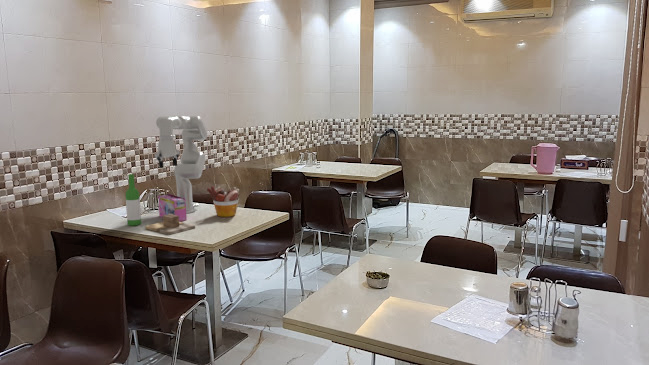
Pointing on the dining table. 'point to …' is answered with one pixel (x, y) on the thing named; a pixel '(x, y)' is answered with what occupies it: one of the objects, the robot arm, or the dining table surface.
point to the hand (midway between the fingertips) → (168, 166)
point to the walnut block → (171, 221)
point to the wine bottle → (133, 203)
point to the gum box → (172, 206)
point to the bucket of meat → (224, 201)
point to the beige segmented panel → (157, 226)
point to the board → (177, 229)
